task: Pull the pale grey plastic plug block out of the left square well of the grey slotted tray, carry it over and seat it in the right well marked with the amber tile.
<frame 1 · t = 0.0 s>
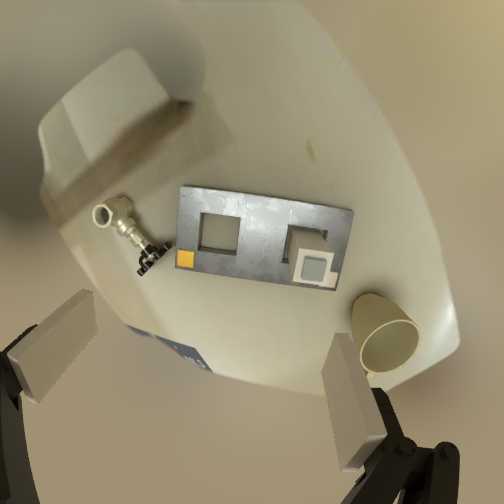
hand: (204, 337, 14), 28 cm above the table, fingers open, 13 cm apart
mug: (365, 311, 44), on the table
plug: (302, 242, 41), resting in grey slotted tray
grey slotted tray: (262, 236, 41), on the table
valve: (139, 225, 42), on the table
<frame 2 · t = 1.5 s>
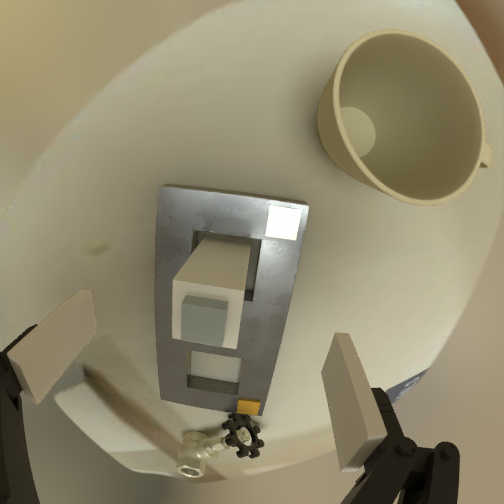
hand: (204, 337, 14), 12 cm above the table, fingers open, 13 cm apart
mug: (361, 132, 22), on the table
plug: (226, 259, 25), resting in grey slotted tray
grey slotted tray: (220, 316, 27), on the table
valve: (215, 428, 33), on the table
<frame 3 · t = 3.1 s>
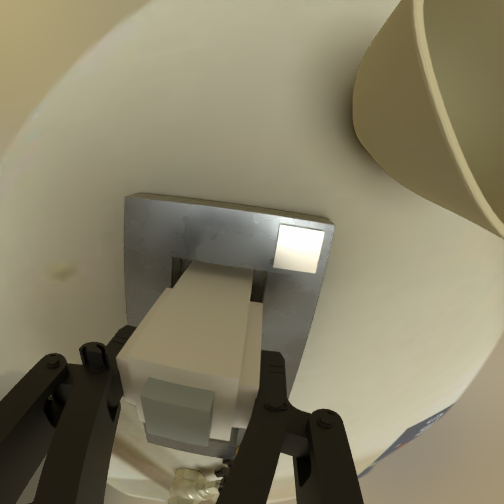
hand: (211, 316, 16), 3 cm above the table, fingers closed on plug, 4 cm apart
mug: (401, 125, 15), on the table
plug: (220, 292, 19), resting in grey slotted tray, touching gripper
grey slotted tray: (213, 360, 21), on the table
valve: (210, 467, 27), on the table
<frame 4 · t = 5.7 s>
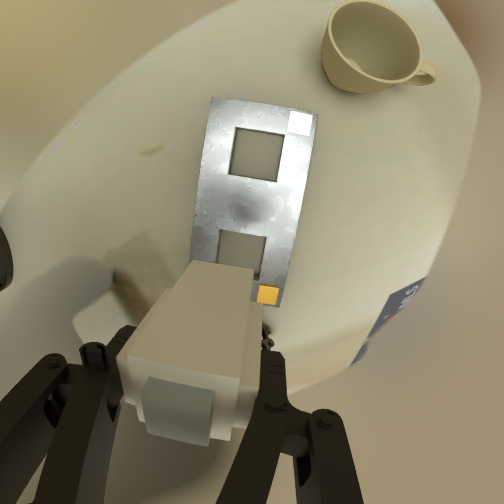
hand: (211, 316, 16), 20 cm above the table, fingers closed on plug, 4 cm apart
mug: (353, 74, 28), on the table
plug: (220, 292, 19), point 17 cm above the table, touching gripper
grey slotted tray: (248, 203, 34), on the table
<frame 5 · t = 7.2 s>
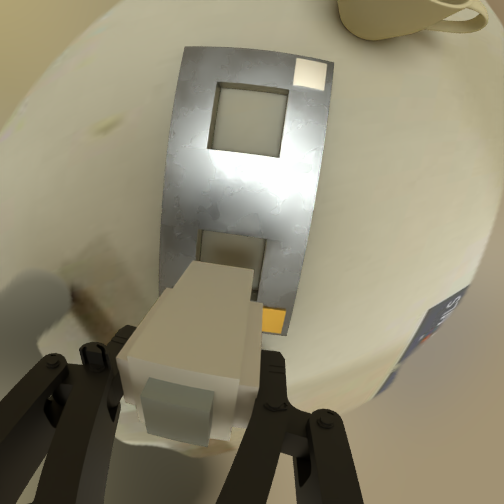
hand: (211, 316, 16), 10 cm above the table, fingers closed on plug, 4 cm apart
mug: (374, 22, 18), on the table
plug: (220, 292, 19), point 7 cm above the table, touching gripper
grey slotted tray: (239, 191, 24), on the table
when the fingers open (4 cm above the table, at t = 8.6 s): plug stays where it is, resting in grey slotted tray.
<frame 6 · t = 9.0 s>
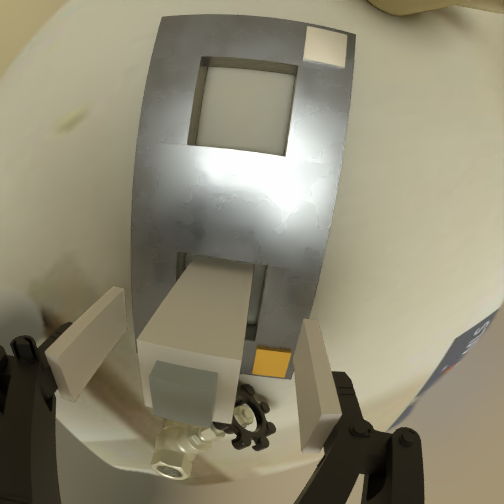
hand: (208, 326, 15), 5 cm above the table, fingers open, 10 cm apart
plug: (221, 286, 20), resting in grey slotted tray
grey slotted tray: (232, 200, 18), on the table
valve: (207, 409, 24), on the table
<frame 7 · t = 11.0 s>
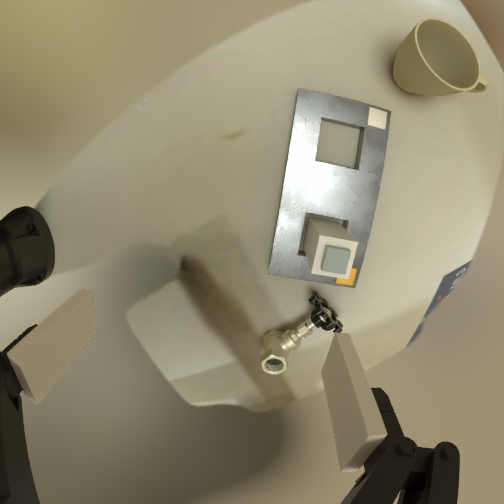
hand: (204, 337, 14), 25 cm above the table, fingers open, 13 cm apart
mug: (413, 78, 29), on the table
plug: (320, 234, 37), resting in grey slotted tray
grey slotted tray: (329, 189, 35), on the table
valve: (294, 323, 42), on the table
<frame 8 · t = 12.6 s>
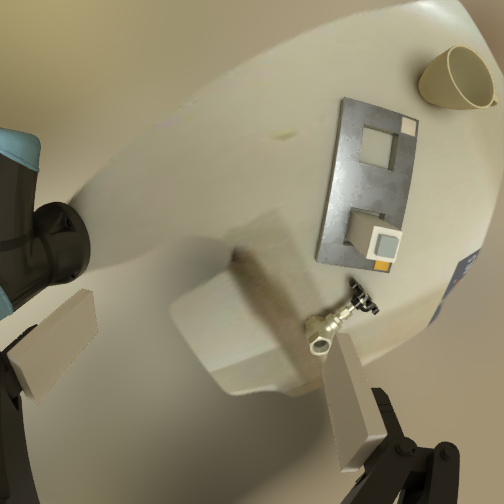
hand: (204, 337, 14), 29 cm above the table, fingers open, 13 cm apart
mug: (434, 91, 33), on the table
plug: (360, 226, 40), resting in grey slotted tray
grey slotted tray: (368, 187, 39), on the table
valve: (332, 308, 45), on the table
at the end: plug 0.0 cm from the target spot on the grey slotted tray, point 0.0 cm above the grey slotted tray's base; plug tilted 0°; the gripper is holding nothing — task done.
